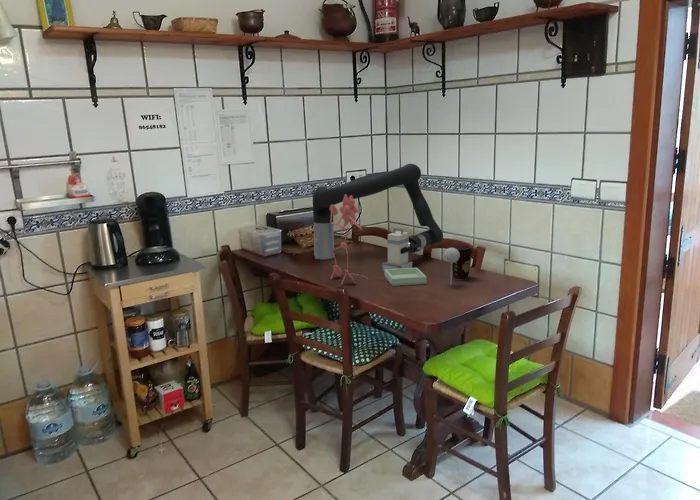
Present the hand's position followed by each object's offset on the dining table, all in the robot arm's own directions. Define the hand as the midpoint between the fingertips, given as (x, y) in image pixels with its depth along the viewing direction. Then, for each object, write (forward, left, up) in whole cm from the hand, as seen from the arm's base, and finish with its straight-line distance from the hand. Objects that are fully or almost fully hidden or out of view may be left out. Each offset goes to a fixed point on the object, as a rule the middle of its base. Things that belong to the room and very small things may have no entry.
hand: (395, 250), depth 233 cm
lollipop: (+17, -24, -9) cm, 31 cm away
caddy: (+2, +2, -9) cm, 9 cm away
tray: (+1, -14, -9) cm, 17 cm away
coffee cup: (+24, -16, -9) cm, 30 cm away
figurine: (-21, -9, -9) cm, 25 cm away
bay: (+2, +2, -9) cm, 9 cm away
